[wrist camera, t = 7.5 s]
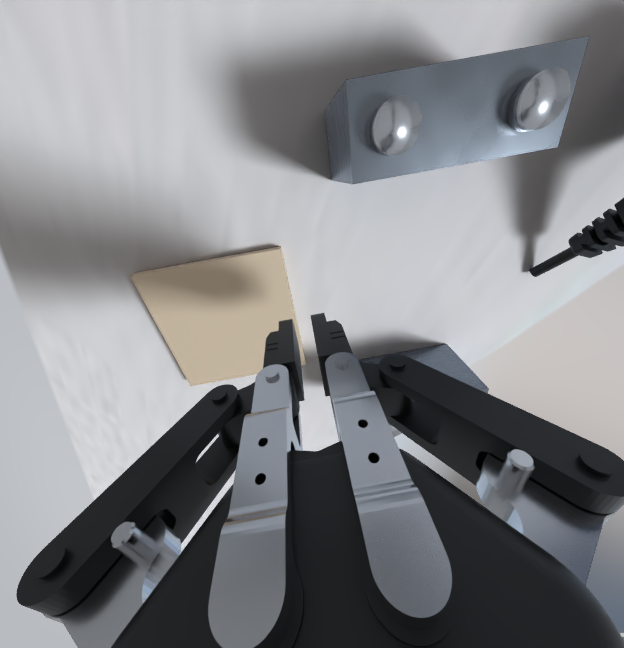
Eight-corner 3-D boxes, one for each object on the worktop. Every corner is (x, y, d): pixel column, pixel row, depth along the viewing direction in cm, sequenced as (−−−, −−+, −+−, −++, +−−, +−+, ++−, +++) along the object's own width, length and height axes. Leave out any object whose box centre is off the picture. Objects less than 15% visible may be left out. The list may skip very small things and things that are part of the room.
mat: (134, 272, 16) (129, 276, 15) (280, 246, 16) (280, 248, 15) (192, 380, 20) (190, 386, 20) (305, 360, 20) (305, 365, 20)
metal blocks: (324, 110, 13) (350, 73, 8) (485, 82, 13) (609, 27, 8) (352, 388, 22) (371, 447, 18) (442, 371, 22) (485, 426, 18)
